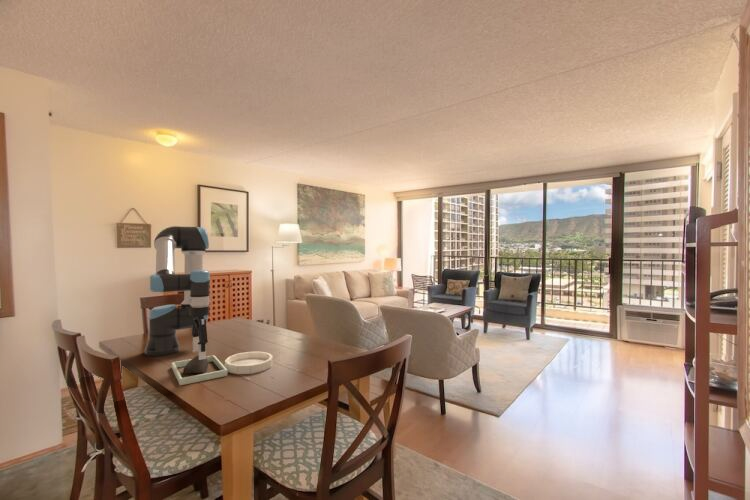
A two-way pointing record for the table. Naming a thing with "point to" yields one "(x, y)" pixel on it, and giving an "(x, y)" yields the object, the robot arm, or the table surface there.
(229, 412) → the table surface
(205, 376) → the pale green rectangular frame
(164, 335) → the robot arm
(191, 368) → the stone
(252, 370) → the bowl
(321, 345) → the table surface
